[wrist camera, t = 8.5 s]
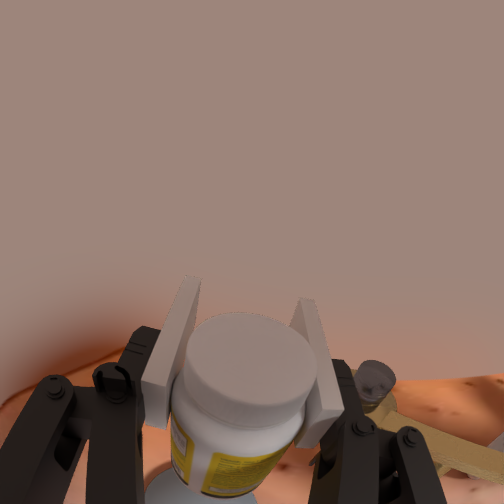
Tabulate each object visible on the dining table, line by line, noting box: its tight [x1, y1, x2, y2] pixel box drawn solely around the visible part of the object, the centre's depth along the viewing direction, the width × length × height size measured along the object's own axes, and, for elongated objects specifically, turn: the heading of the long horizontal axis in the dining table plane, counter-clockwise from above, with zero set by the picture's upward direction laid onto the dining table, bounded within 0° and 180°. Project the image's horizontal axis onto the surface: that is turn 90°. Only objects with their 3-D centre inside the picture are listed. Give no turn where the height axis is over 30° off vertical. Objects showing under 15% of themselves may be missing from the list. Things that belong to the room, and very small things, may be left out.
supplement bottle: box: [171, 312, 318, 500], centre depth 10 cm, size 5×5×8 cm
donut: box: [467, 432, 504, 480], centre depth 18 cm, size 10×4×10 cm, turn 96°
